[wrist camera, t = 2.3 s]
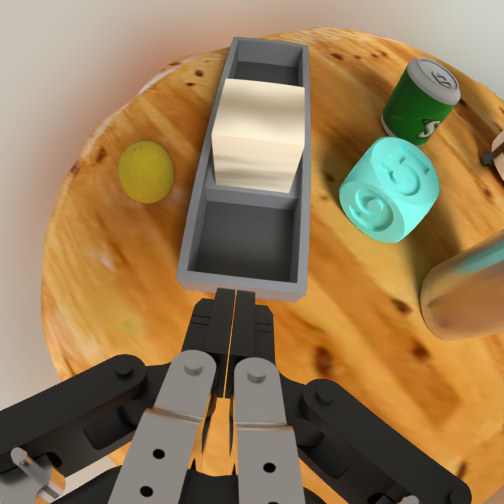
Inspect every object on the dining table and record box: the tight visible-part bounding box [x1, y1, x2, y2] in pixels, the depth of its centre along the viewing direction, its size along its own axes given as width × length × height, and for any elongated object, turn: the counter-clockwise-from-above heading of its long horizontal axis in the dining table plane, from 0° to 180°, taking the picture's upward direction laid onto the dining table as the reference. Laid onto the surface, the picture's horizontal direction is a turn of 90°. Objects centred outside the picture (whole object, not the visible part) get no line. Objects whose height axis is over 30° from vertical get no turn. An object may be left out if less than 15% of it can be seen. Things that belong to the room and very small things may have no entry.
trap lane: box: [176, 37, 311, 302], centre depth 32 cm, size 35×11×4 cm, turn 174°
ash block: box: [211, 79, 305, 193], centre depth 26 cm, size 7×7×8 cm
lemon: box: [118, 141, 175, 204], centre depth 27 cm, size 6×6×8 cm
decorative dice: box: [338, 137, 440, 243], centre depth 28 cm, size 8×8×8 cm
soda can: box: [381, 58, 460, 148], centre depth 31 cm, size 8×8×12 cm
